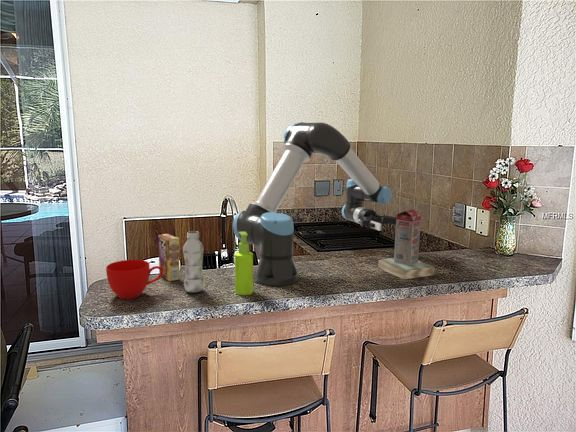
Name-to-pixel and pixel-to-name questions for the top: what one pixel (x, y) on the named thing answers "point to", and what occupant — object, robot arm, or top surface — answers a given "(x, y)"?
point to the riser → (406, 269)
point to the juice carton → (407, 237)
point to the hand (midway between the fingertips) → (395, 226)
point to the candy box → (169, 257)
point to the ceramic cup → (129, 277)
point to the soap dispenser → (243, 268)
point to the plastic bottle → (193, 263)
